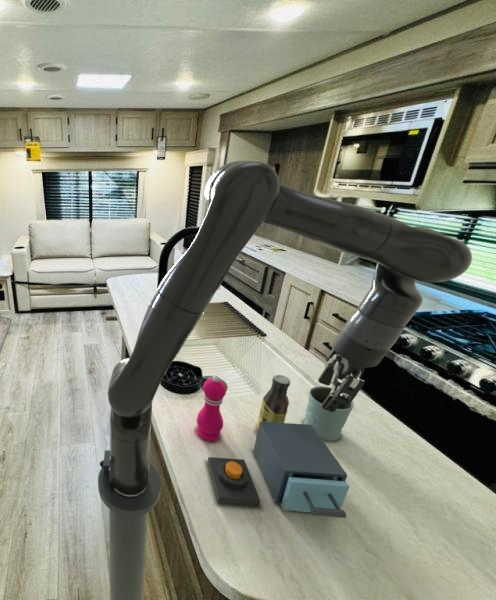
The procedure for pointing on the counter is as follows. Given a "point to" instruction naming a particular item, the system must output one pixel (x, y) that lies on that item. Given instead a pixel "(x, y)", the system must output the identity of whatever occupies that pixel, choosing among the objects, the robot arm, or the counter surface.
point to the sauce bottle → (275, 401)
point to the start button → (233, 470)
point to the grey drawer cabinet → (292, 454)
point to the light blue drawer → (314, 495)
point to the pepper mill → (211, 410)
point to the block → (232, 484)
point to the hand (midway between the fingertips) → (325, 395)
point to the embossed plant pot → (325, 414)
